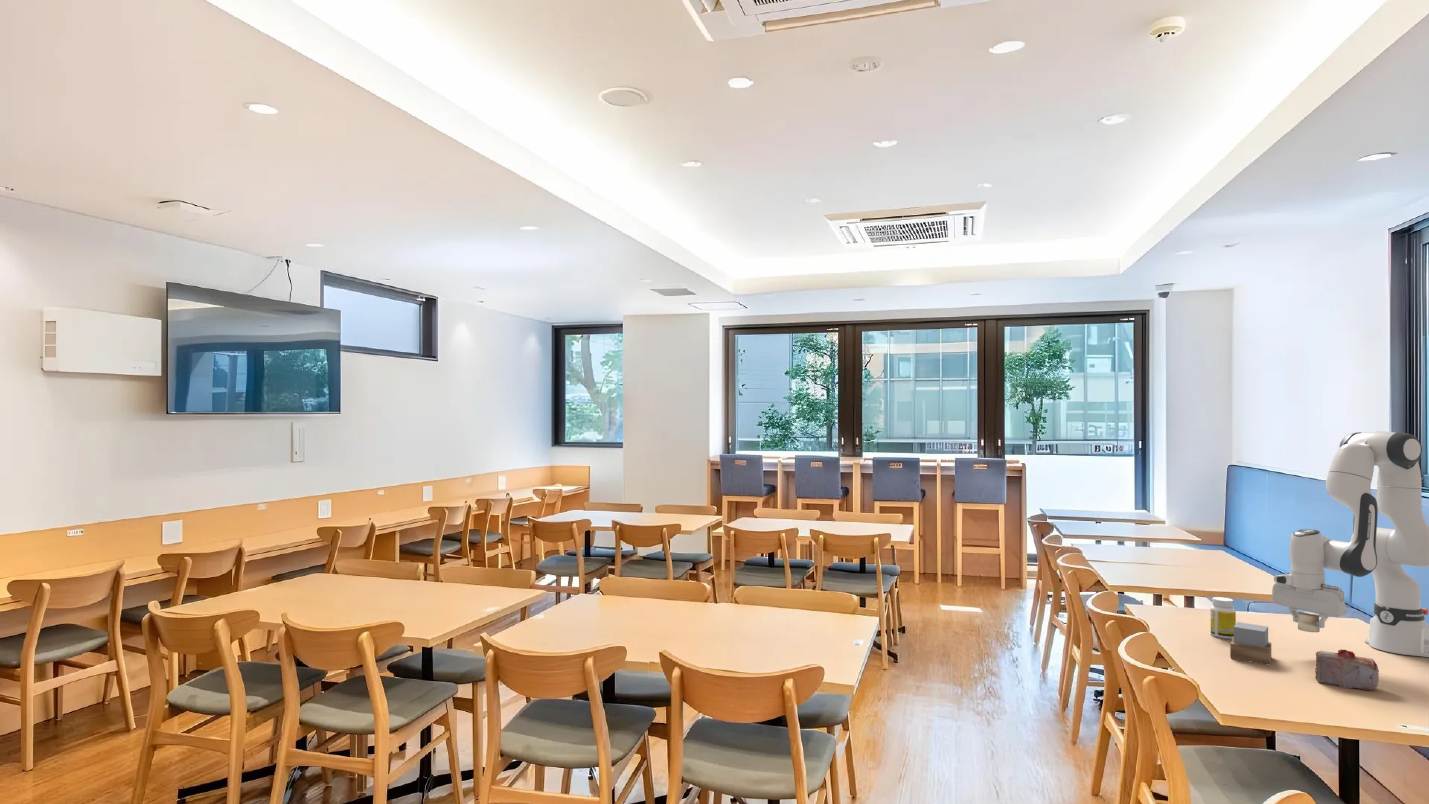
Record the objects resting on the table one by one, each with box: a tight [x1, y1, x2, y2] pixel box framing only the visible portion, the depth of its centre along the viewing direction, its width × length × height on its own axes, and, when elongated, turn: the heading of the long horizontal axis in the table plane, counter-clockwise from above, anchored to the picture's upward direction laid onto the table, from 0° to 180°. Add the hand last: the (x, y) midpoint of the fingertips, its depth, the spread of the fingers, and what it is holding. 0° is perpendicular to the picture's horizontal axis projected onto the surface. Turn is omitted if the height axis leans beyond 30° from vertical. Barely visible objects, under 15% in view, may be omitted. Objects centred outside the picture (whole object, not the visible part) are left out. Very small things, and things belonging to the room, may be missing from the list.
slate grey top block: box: [1234, 621, 1269, 648], centre depth 244 cm, size 8×8×5 cm
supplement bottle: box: [1209, 596, 1237, 640], centre depth 267 cm, size 7×7×13 cm
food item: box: [1314, 649, 1380, 691], centre depth 219 cm, size 14×8×10 cm, turn 56°
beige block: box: [1297, 611, 1321, 633], centre depth 247 cm, size 6×6×5 cm
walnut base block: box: [1229, 637, 1272, 665], centre depth 243 cm, size 10×10×5 cm
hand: (1308, 624), depth 247 cm, fingers closed on beige block, 5 cm apart
